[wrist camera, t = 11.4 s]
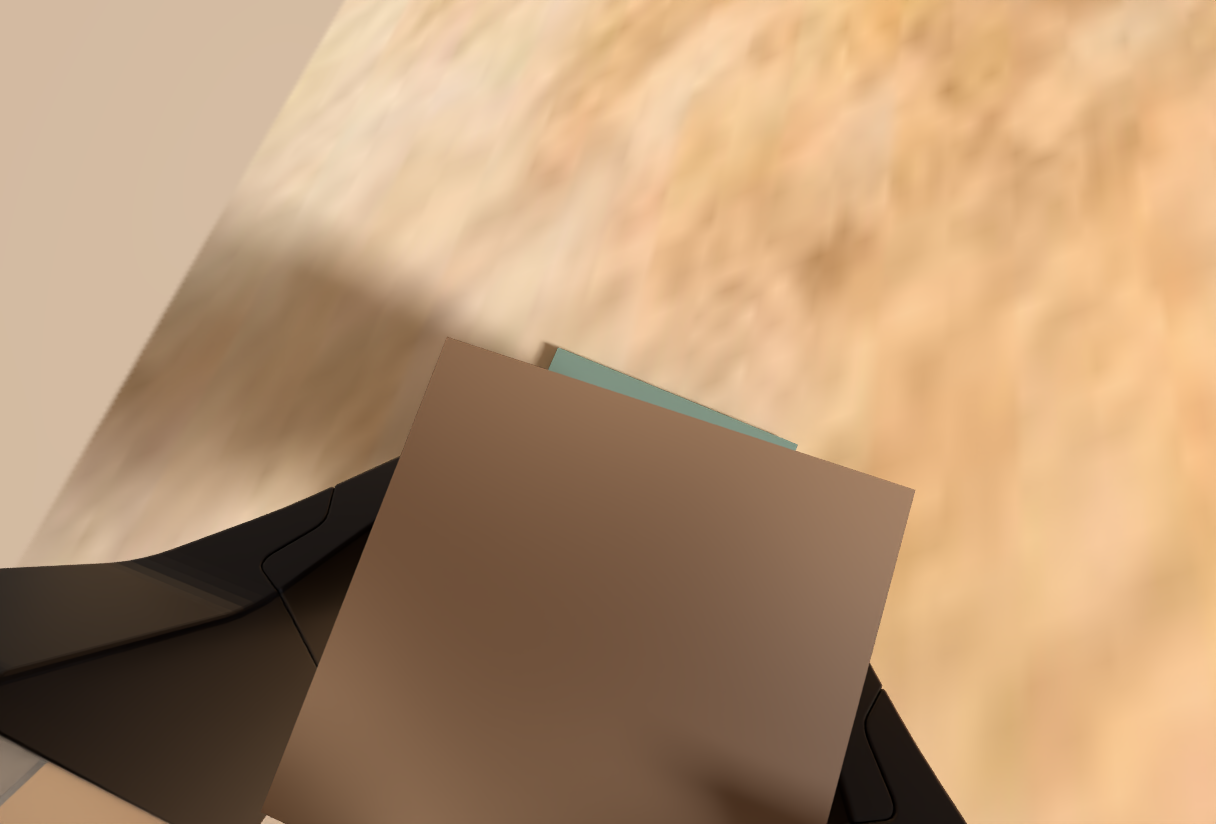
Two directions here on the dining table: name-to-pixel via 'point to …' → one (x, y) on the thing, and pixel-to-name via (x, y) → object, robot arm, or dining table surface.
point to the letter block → (593, 619)
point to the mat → (651, 394)
